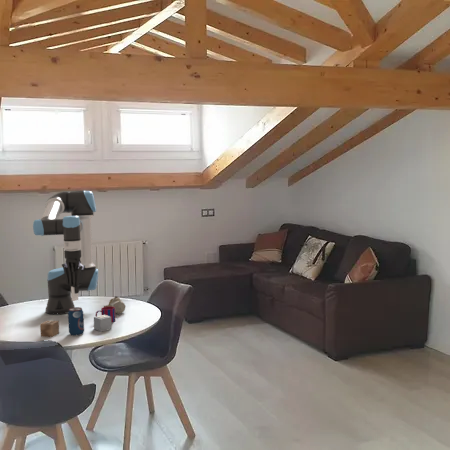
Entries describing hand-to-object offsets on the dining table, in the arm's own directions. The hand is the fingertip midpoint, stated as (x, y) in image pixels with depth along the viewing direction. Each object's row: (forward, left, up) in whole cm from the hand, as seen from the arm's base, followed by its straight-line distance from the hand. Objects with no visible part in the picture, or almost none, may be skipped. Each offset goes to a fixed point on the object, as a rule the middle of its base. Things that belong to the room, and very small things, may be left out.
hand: (75, 300), depth 263 cm
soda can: (0, 0, -16) cm, 16 cm away
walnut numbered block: (-10, -7, -16) cm, 20 cm away
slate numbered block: (+5, +12, -16) cm, 21 cm away
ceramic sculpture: (-12, +40, -17) cm, 45 cm away
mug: (-3, +22, -16) cm, 28 cm away
